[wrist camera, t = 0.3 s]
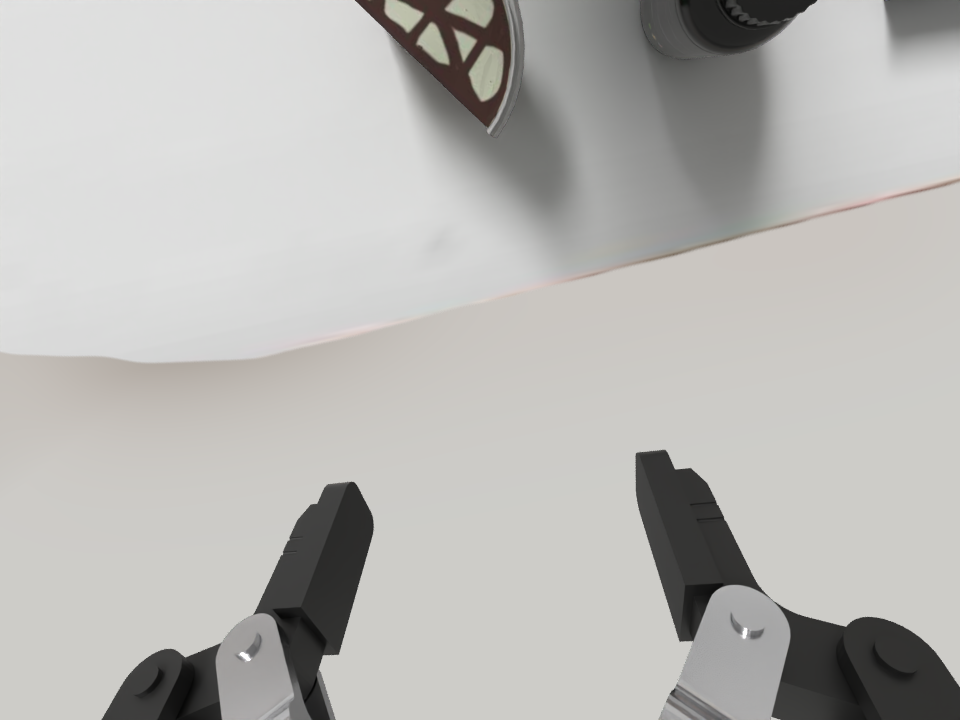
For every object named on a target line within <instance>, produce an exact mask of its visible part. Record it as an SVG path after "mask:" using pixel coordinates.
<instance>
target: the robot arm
mask: <svg viewBox="0 0 960 720" xmlns="http://www.w3.org/2000/svg"><path fill="white" fill-rule="evenodd" d="M636 496H637V502H638V507H639V511H640V514H641V517H642V521H643V524H644V528H645V531H646V534H647V537H648V540H649V543H650V547H651V550H652V554H653V557H654V560H655V563H656V567H657V570H658V573H659V576H660V580H661V583H662V586H663V589H664V592H665V596H666V599H667V602H668V605H669V609H670V612H671V615H672V618H673V622H674V625H675V628H676V631H677V634H678V638H679V641H680V642H681V641H693V644H692V646H691V649H690V652H689V654H688V657H687V659H686V662H685V664H684V667H683V670H682V672H681V675H680V678H679V680H678V682H677V685H676V687H675V689H674V690H673V691H671V693H670V695H669V696H668V699H667V701H666V703H665V705H664V708H663V710H662V712H661V715H660V718H659V720H771V717H774V718H777V719H780V720H960V687H959V685H958V684H957V683H956V681H955V680H954V678H953V677H952V675H951V674H950V672H949V671H948V669H947V668H946V666H945V665H944V663H943V662H942V660H941V659H940V658H939V657H938V655H937V654H936V653H935V651H934V650H933V649H932V648H931V647H930V646H929V645H928V644H927V643H925V642H924V641H923V640H922V639H921V638H920V637H918V636H917V635H916V634H914V633H913V632H911V631H910V630H908V629H906V628H904V627H903V626H900V625H898V624H896V623H894V622H891V621H888V620H885V619H880V618H874V617H862V618H859V619H856V620H854V621H852V622H850V624H848V625H847V627H844V626H840V625H836V624H832V623H828V622H824V621H820V620H816V619H812V618H808V617H804V616H801V615H798V614H796V613H793V612H791V611H789V610H787V609H785V608H783V607H782V606H780V605H779V604H777V603H776V602H774V601H773V600H772V599H771V598H770V597H768V596H767V595H766V594H765V592H764V591H762V589H761V588H760V587H759V586H758V584H757V582H756V580H755V579H754V577H753V575H752V573H751V571H750V569H749V567H748V565H747V563H746V561H745V559H744V557H743V555H742V553H741V551H740V549H739V547H738V545H737V543H736V541H735V539H734V536H733V535H732V532H731V530H730V529H729V527H728V524H727V522H726V521H725V520H724V516H723V514H722V512H721V510H720V508H719V506H718V505H717V503H716V500H715V498H714V496H713V494H712V492H711V490H710V488H709V486H708V484H707V483H706V482H705V481H704V480H703V479H702V478H701V477H700V476H699V475H698V474H697V473H695V472H694V471H693V470H692V469H691V468H688V469H678V470H675V469H674V466H673V464H672V462H671V459H670V457H669V455H668V453H667V452H666V450H659V451H650V452H640V453H636ZM373 525H374V524H373V517H372V514H371V511H370V510H369V508H368V506H367V504H366V502H365V500H364V498H363V496H362V494H361V492H360V490H359V488H358V487H357V485H356V484H355V483H354V482H345V483H337V484H328V485H327V486H326V487H325V488H324V490H323V492H322V494H321V497H320V499H319V501H318V504H312V505H310V506H309V508H308V509H307V510H306V511H305V512H304V513H303V515H302V516H301V517H300V518H299V519H298V520H297V522H296V525H295V527H294V529H293V531H292V534H291V536H290V541H288V542H287V544H286V546H285V548H284V551H283V555H281V557H280V560H279V561H278V564H277V566H276V568H275V570H274V572H273V574H272V577H271V579H270V581H269V583H268V585H267V587H266V590H265V592H264V594H263V596H262V598H261V600H260V603H259V605H258V607H257V609H256V611H255V613H254V614H253V615H252V616H250V617H247V618H246V619H244V620H242V621H241V622H240V623H238V624H237V625H236V626H235V627H234V628H233V629H232V630H231V631H230V632H229V633H228V634H227V636H226V637H225V638H224V640H223V642H222V643H221V644H218V645H215V646H213V647H210V648H208V649H205V650H203V651H201V652H198V653H196V654H193V655H191V656H189V657H186V658H185V657H184V656H183V655H181V654H180V653H179V652H178V651H176V650H174V649H165V650H161V651H158V652H156V653H154V654H152V655H151V656H149V657H148V658H146V659H145V660H144V661H143V662H141V663H140V664H139V665H138V666H137V667H136V668H135V669H134V670H133V671H132V672H131V673H130V674H129V675H128V677H127V678H126V679H125V681H124V682H123V684H122V686H121V687H120V689H119V691H118V693H117V694H116V696H115V698H114V699H113V701H112V703H111V705H110V707H109V708H108V710H107V711H106V713H105V715H104V717H103V718H102V720H336V719H335V716H334V713H333V710H332V707H331V704H330V700H329V697H328V694H327V691H326V687H325V684H324V681H323V678H322V675H321V672H320V671H319V666H320V663H321V659H322V656H323V655H338V654H339V652H340V648H341V645H342V641H343V638H344V634H345V631H346V627H347V624H348V620H349V617H350V613H351V609H352V606H353V602H354V599H355V595H356V592H357V588H358V585H359V581H360V578H361V574H362V571H363V567H364V564H365V560H366V557H367V553H368V550H369V546H370V543H371V539H372V535H373V528H374V526H373Z"/></svg>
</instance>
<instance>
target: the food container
mask: <svg viewBox="0 0 960 720" xmlns="http://www.w3.org/2000/svg"><path fill="white" fill-rule="evenodd" d="M355 1H356V2H357V3H358V4H359V5H360V6H361V7H362V8H363V9H365V10H366V11H367V12H368V13H369V14H370V15H371V16H372V17H373V18H374V19H375V20H376V21H377V22H378V23H379V24H380V25H381V26H382V27H383V28H384V29H385V30H386V31H387V32H388V33H389V34H391V35H392V36H393V37H394V38H395V39H396V40H397V41H398V42H399V43H400V44H401V45H402V46H403V47H404V48H405V49H406V50H407V51H408V52H409V53H410V54H411V55H412V56H413V57H414V58H415V59H416V60H417V61H418V62H419V63H421V64H422V65H423V66H424V67H425V68H426V69H427V70H428V71H429V72H430V73H431V74H432V75H433V76H434V77H435V78H436V79H437V80H438V81H439V82H440V83H441V84H442V85H443V86H444V87H445V88H446V89H447V90H449V91H450V92H451V93H452V94H453V95H454V96H455V97H456V98H457V99H458V100H459V101H460V102H461V103H462V104H463V105H464V106H465V107H466V108H467V109H468V110H469V111H470V112H471V113H472V114H474V115H475V116H476V117H477V118H478V119H479V120H480V121H481V122H482V123H483V124H484V125H485V126H486V129H487V132H488V134H490V135H491V136H492V137H496V138H497V137H498V135H499V134H500V132H501V131H502V129H503V127H504V126H505V124H506V123H507V121H508V118H509V116H510V114H511V112H512V110H513V108H514V105H515V102H516V99H517V96H518V92H519V89H520V85H521V79H522V74H523V68H524V46H525V44H524V33H523V22H522V18H521V13H520V9H519V4H518V0H355Z"/></svg>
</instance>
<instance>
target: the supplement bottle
mask: <svg viewBox="0 0 960 720" xmlns="http://www.w3.org/2000/svg"><path fill="white" fill-rule="evenodd" d="M816 1H817V0H641V4H640V12H641V21H642V26H643V29H644V32H645V34H646V36H647V38H648V40H649V42H650V43H651V44H652V45H653V47H654V48H655V49H657V50H658V51H659V52H660V53H662V54H664V55H666V56H668V57H671V58H676V59H694V58H704V57H715V56H725V55H732V54H739V53H743V52H746V51H750V50H752V49H755V48H757V47H759V46H761V45H763V44H765V43H767V42H768V41H770V40H771V39H773V38H774V37H775V36H777V35H778V34H779V33H781V32H782V31H783V30H784V29H785V28H786V27H787V26H788V25H789V24H790V23H791V22H792V21H793V20H794V19H795V18H796V17H797V15H798V14H800V13H803V12H804V11H805V10H806V9H807V8H808V7H809V6H810V5H812V4H814V3H815V2H816Z"/></svg>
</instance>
